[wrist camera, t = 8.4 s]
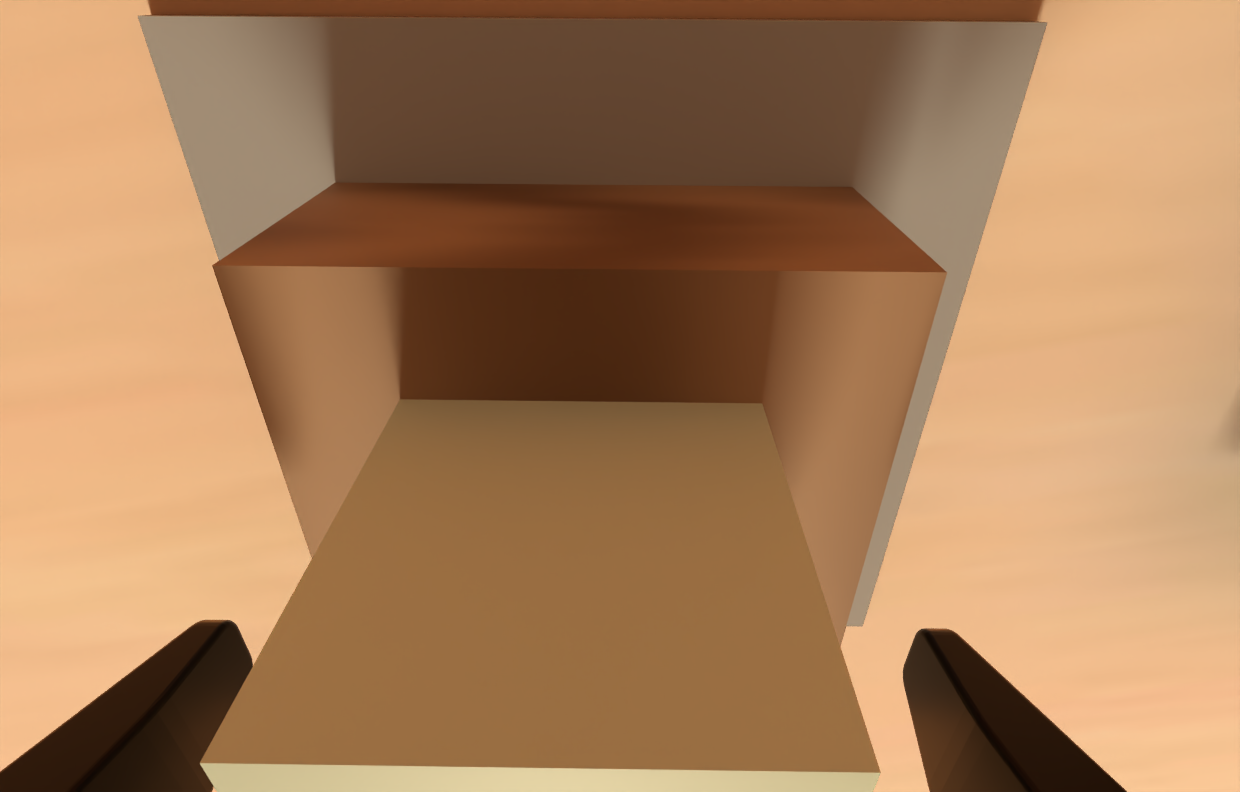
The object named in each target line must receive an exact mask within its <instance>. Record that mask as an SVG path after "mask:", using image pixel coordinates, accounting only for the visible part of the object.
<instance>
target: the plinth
mask: <svg viewBox="0 0 1240 792" xmlns="http://www.w3.org/2000/svg"><path fill="white" fill-rule="evenodd" d="M212 266H213V269H214V272H215V275H216V278H217V281H218V284H219V287H220V290H221V293H222V296H223V299H224V302H225V305H226V307H227V310H228V313H229V316H230V319H231V322H232V325H233V328H234V331H235V334H236V337H237V340H238V343H239V346H240V349H241V352H242V355H243V357H244V360H245V363H246V366H247V369H248V372H249V375H250V378H251V381H252V384H253V387H254V390H255V393H256V396H257V399H258V402H259V404H260V407H261V410H262V413H263V416H264V419H265V422H266V425H267V428H268V431H269V434H270V437H271V440H272V443H273V446H274V449H275V452H276V454H277V457H278V460H279V463H280V466H281V469H282V472H283V475H284V478H285V481H286V484H287V487H288V490H289V493H290V496H291V499H292V502H293V504H294V507H295V510H296V513H297V516H298V519H299V522H300V525H301V528H302V531H303V534H304V537H305V540H306V543H307V546H308V549H309V551H310V554H311V557H312V558H313V556H314V555H315V553H316V551H317V549H318V547H319V545H320V544H321V542H322V540H323V538H324V536H325V535H326V533H327V531H328V529H329V527H330V525H331V524H332V522H333V520H334V518H335V516H336V515H337V513H338V511H339V509H340V507H341V505H342V504H343V502H344V500H345V498H346V496H347V495H348V493H349V491H350V489H351V487H352V486H353V484H354V482H355V480H356V478H357V476H358V475H359V473H360V471H361V469H362V467H363V466H364V464H365V462H366V460H367V458H368V456H369V455H370V453H371V451H372V449H373V447H374V446H375V444H376V442H377V440H378V438H379V436H380V435H381V433H382V431H383V429H384V427H385V426H386V424H387V422H388V420H389V418H390V417H391V415H392V413H393V411H394V409H395V407H396V406H397V404H398V402H399V400H400V399H410V400H500V401H589V402H679V403H762V404H763V407H764V411H765V414H766V417H767V420H768V423H769V426H770V429H771V432H772V435H773V439H774V442H775V445H776V448H777V451H778V454H779V457H780V460H781V464H782V467H783V470H784V473H785V476H786V479H787V482H788V485H789V488H790V492H791V495H792V498H793V501H794V504H795V507H796V510H797V513H798V517H799V520H800V523H801V526H802V529H803V532H804V535H805V538H806V541H807V545H808V548H809V551H810V554H811V557H812V560H813V563H814V566H815V570H816V573H817V576H818V579H819V582H820V585H821V588H822V591H823V594H824V598H825V601H826V604H827V607H828V610H829V613H830V616H831V619H832V623H833V626H834V629H835V632H836V635H837V638H838V641H839V644H840V646H841V642H842V639H843V635H844V632H845V629H846V625H847V622H848V618H849V615H850V611H851V608H852V604H853V601H854V597H855V594H856V590H857V587H858V583H859V580H860V576H861V573H862V569H863V566H864V562H865V559H866V555H867V552H868V548H869V545H870V541H871V538H872V534H873V531H874V527H875V524H876V520H877V517H878V513H879V510H880V506H881V503H882V499H883V496H884V492H885V489H886V485H887V482H888V478H889V475H890V471H891V468H892V464H893V461H894V457H895V454H896V450H897V447H898V443H899V440H900V436H901V433H902V429H903V426H904V422H905V419H906V415H907V412H908V408H909V405H910V401H911V398H912V394H913V391H914V387H915V384H916V380H917V377H918V373H919V370H920V366H921V363H922V359H923V356H924V352H925V349H926V345H927V342H928V338H929V335H930V331H931V328H932V324H933V321H934V317H935V314H936V310H937V307H938V303H939V300H940V296H941V293H942V289H943V286H944V282H945V279H946V275H947V272H946V271H945V270H944V269H943V268H942V267H941V266H940V265H938V264H937V263H936V262H935V261H934V260H933V259H932V258H931V257H930V256H928V255H927V254H926V253H925V252H924V251H923V250H922V249H921V248H920V247H918V246H917V245H916V244H915V243H914V242H913V241H912V240H911V239H910V238H908V237H907V236H906V235H905V234H904V233H903V232H902V231H901V230H900V229H898V228H897V227H896V226H895V225H894V224H893V223H892V222H891V221H890V220H888V219H887V218H886V217H885V216H884V215H883V214H882V213H881V212H880V211H878V210H877V209H876V208H875V207H874V206H873V205H872V204H871V203H870V202H868V201H867V200H866V199H865V198H864V197H863V196H862V195H861V194H860V193H858V192H857V191H856V190H855V189H854V188H853V187H800V186H685V185H570V184H455V183H340V182H335V183H334V184H332V185H331V186H329V187H328V188H326V189H325V190H323V191H322V192H321V193H319V194H318V195H316V196H315V197H313V198H312V199H310V200H309V201H307V202H306V203H304V204H303V205H301V206H300V207H298V208H297V209H295V210H294V211H292V212H291V213H289V214H288V215H286V216H285V217H283V218H282V219H280V220H279V221H277V222H276V223H275V224H273V225H272V226H270V227H269V228H267V229H266V230H264V231H263V232H261V233H260V234H258V235H257V236H255V237H254V238H252V239H251V240H249V241H248V242H246V243H245V244H243V245H242V246H240V247H239V248H237V249H236V250H234V251H233V252H232V253H230V254H229V255H227V256H226V257H224V258H223V259H221V260H220V261H218V262H217V263H215V264H214V265H212Z"/></svg>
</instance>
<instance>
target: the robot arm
mask: <svg viewBox="0 0 1240 792" xmlns="http://www.w3.org/2000/svg"><path fill="white" fill-rule="evenodd" d="M252 667H253V663H252V657H251V655H250V653H249V650H248V648H247V646H246V644H245V642H244V640H243V637H242V635H241V633H240V631H239V629H238V627H237V625H236V624H235V623H234V622H232V621H230V620H202V621H199V622H197V623H195V624H194V625H192V626H191V627H189V628H188V629H187V630H185V631H184V632H183V633H181V634H180V635H179V636H178V637H176V638H175V639H174V640H172V641H171V642H170V643H168V644H167V645H166V646H164V647H163V648H162V649H160V650H159V651H158V652H157V653H155V654H154V655H153V656H151V657H150V658H149V659H147V660H146V661H145V662H143V663H142V664H141V665H139V666H138V667H137V668H136V669H134V670H133V671H132V672H130V673H129V674H128V675H126V676H125V677H124V678H122V679H121V680H120V681H118V682H117V683H116V684H115V685H113V686H112V687H111V688H109V689H108V690H107V691H105V692H104V693H103V694H101V695H100V696H99V697H98V698H96V699H95V700H94V701H92V702H91V703H90V704H88V705H87V706H86V707H84V708H83V709H82V710H80V711H79V712H78V713H77V714H75V715H74V716H73V717H71V718H70V719H69V720H67V721H66V722H65V723H63V724H62V725H61V726H59V727H58V728H57V729H56V730H54V731H53V732H52V733H50V734H49V735H48V736H46V737H45V738H44V739H42V740H41V741H40V742H38V743H37V744H36V745H35V746H33V747H32V748H31V749H29V750H28V751H27V752H25V753H24V754H23V755H21V756H20V757H19V758H17V759H16V760H15V761H14V762H12V763H11V764H10V765H8V766H7V767H6V768H4V769H3V770H2V771H0V792H212V790H213V787H214V786H213V784H212V783H211V781H210V779H209V778H208V776H207V775H206V773H205V771H204V770H203V768H202V766H201V765H200V762H201V760H202V758H203V756H204V754H205V752H206V751H207V749H208V747H209V745H210V743H211V742H212V740H213V738H214V736H215V734H216V732H217V731H218V729H219V727H220V725H221V723H222V722H223V720H224V718H225V716H226V714H227V712H228V711H229V709H230V707H231V705H232V703H233V702H234V700H235V698H236V696H237V694H238V693H239V691H240V689H241V687H242V685H243V683H244V682H245V680H246V678H247V676H248V674H249V673H250V671H251V669H252ZM903 682H904V687H905V691H906V696H907V700H908V704H909V708H910V712H911V716H912V720H913V725H914V729H915V733H916V737H917V741H918V745H919V749H920V754H921V758H922V762H923V766H924V770H925V774H926V778H927V783H928V787H929V790H930V792H1127V791H1126V790H1125V789H1124V788H1123V787H1122V786H1121V785H1119V784H1118V783H1117V782H1116V781H1115V780H1114V779H1113V778H1112V777H1111V776H1110V775H1109V774H1108V773H1107V772H1105V771H1104V770H1103V769H1102V768H1101V767H1100V766H1099V765H1098V764H1097V763H1096V762H1095V761H1094V760H1093V759H1091V758H1090V757H1089V756H1088V755H1087V754H1086V753H1085V752H1084V751H1083V750H1082V749H1081V748H1080V747H1079V746H1078V745H1076V744H1075V743H1074V742H1073V741H1072V740H1071V739H1070V738H1069V737H1068V736H1067V735H1066V734H1065V733H1064V732H1062V731H1061V730H1060V729H1059V728H1058V727H1057V726H1056V725H1055V724H1054V723H1053V722H1052V721H1051V720H1050V719H1048V718H1047V717H1046V716H1045V715H1044V714H1043V713H1042V712H1041V711H1040V710H1039V709H1038V708H1037V707H1036V706H1034V705H1033V704H1032V703H1031V702H1030V701H1029V700H1028V699H1027V698H1026V697H1025V696H1024V695H1023V694H1022V693H1021V692H1019V691H1018V690H1017V689H1016V688H1015V687H1014V686H1013V685H1012V684H1011V683H1010V682H1009V681H1008V680H1007V679H1005V678H1004V677H1003V676H1002V675H1001V674H1000V673H999V672H998V671H997V670H996V669H995V668H994V667H993V666H991V665H990V664H989V663H988V662H987V661H986V660H985V659H984V658H983V657H982V656H981V655H980V654H979V653H978V652H976V651H975V650H974V649H973V648H972V647H971V646H970V645H969V644H968V643H967V642H966V641H965V640H964V639H962V638H961V637H960V636H959V635H958V634H957V633H955V632H954V631H952V630H949V629H921V630H919V631H918V632H917V633H916V635H915V638H914V640H913V643H912V646H911V648H910V651H909V654H908V656H907V659H906V662H905V664H904V668H903Z"/></svg>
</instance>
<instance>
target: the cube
mask: <svg viewBox="0 0 1240 792" xmlns="http://www.w3.org/2000/svg"><path fill="white" fill-rule="evenodd" d="M200 765H201V766H202V768H203V770H204V771H205V773H206V775H207V776H208V778H209V779H210V781H211V783H212V784H213V786H214V788H215V789H216V791H217V792H873V791H874V788H875V786H876V783H877V781H878V778H879V776H880V773H881V772H880V769H879V766H878V763H877V760H876V757H875V753H874V750H873V747H872V744H871V741H870V738H869V735H868V732H867V728H866V725H865V722H864V719H863V716H862V713H861V710H860V707H859V704H858V700H857V697H856V694H855V691H854V688H853V685H852V682H851V679H850V676H849V672H848V669H847V666H846V663H845V660H844V657H843V654H842V651H841V647H840V644H839V641H838V638H837V635H836V632H835V629H834V626H833V623H832V619H831V616H830V613H829V610H828V607H827V604H826V601H825V598H824V594H823V591H822V588H821V585H820V582H819V579H818V576H817V573H816V570H815V566H814V563H813V560H812V557H811V554H810V551H809V548H808V545H807V541H806V538H805V535H804V532H803V529H802V526H801V523H800V520H799V517H798V513H797V510H796V507H795V504H794V501H793V498H792V495H791V492H790V488H789V485H788V482H787V479H786V476H785V473H784V470H783V467H782V464H781V460H780V457H779V454H778V451H777V448H776V445H775V442H774V439H773V435H772V432H771V429H770V426H769V423H768V420H767V417H766V414H765V411H764V407H763V404H762V403H679V402H589V401H500V400H410V399H400V400H399V402H398V404H397V406H396V407H395V409H394V411H393V413H392V415H391V417H390V418H389V420H388V422H387V424H386V426H385V427H384V429H383V431H382V433H381V435H380V436H379V438H378V440H377V442H376V444H375V446H374V447H373V449H372V451H371V453H370V455H369V456H368V458H367V460H366V462H365V464H364V466H363V467H362V469H361V471H360V473H359V475H358V476H357V478H356V480H355V482H354V484H353V486H352V487H351V489H350V491H349V493H348V495H347V496H346V498H345V500H344V502H343V504H342V505H341V507H340V509H339V511H338V513H337V515H336V516H335V518H334V520H333V522H332V524H331V525H330V527H329V529H328V531H327V533H326V535H325V536H324V538H323V540H322V542H321V544H320V545H319V547H318V549H317V551H316V553H315V555H314V556H313V558H312V560H311V562H310V564H309V565H308V567H307V569H306V571H305V573H304V574H303V576H302V578H301V580H300V582H299V584H298V585H297V587H296V589H295V591H294V593H293V594H292V596H291V598H290V600H289V602H288V604H287V605H286V607H285V609H284V611H283V613H282V614H281V616H280V618H279V620H278V622H277V624H276V625H275V627H274V629H273V631H272V633H271V634H270V636H269V638H268V640H267V642H266V643H265V645H264V647H263V649H262V651H261V653H260V654H259V656H258V658H257V660H256V662H255V663H254V665H253V667H252V669H251V671H250V673H249V674H248V676H247V678H246V680H245V682H244V683H243V685H242V687H241V689H240V691H239V693H238V694H237V696H236V698H235V700H234V702H233V703H232V705H231V707H230V709H229V711H228V712H227V714H226V716H225V718H224V720H223V722H222V723H221V725H220V727H219V729H218V731H217V732H216V734H215V736H214V738H213V740H212V742H211V743H210V745H209V747H208V749H207V751H206V752H205V754H204V756H203V758H202V760H201V762H200Z"/></svg>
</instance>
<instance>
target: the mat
mask: <svg viewBox="0 0 1240 792" xmlns="http://www.w3.org/2000/svg"><path fill="white" fill-rule="evenodd" d="M138 19H139V22H140V25H141V28H142V31H143V34H144V37H145V40H146V43H147V46H148V49H149V52H150V55H151V58H152V61H153V64H154V67H155V70H156V73H157V76H158V79H159V82H160V85H161V88H162V91H163V94H164V97H165V100H166V103H167V106H168V109H169V112H170V115H171V118H172V121H173V124H174V127H175V130H176V133H177V136H178V139H179V142H180V145H181V148H182V151H183V154H184V157H185V160H186V163H187V166H188V169H189V172H190V175H191V178H192V181H193V184H194V187H195V190H196V193H197V196H198V199H199V202H200V205H201V208H202V211H203V214H204V217H205V220H206V223H207V226H208V229H209V232H210V235H211V238H212V241H213V244H214V247H215V250H216V253H217V256H218V259H219V261H220V260H221V259H223V258H224V257H226V256H227V255H229V254H230V253H232V252H233V251H234V250H236V249H237V248H239V247H240V246H242V245H243V244H245V243H246V242H248V241H249V240H251V239H252V238H254V237H255V236H257V235H258V234H260V233H261V232H263V231H264V230H266V229H267V228H269V227H270V226H272V225H273V224H275V223H276V222H277V221H279V220H280V219H282V218H283V217H285V216H286V215H288V214H289V213H291V212H292V211H294V210H295V209H297V208H298V207H300V206H301V205H303V204H304V203H306V202H307V201H309V200H310V199H312V198H313V197H315V196H316V195H318V194H319V193H321V192H322V191H323V190H325V189H326V188H328V187H329V186H331V185H332V184H334V183H335V182H340V183H455V184H570V185H685V186H800V187H853V188H854V189H855V190H856V191H857V192H858V193H860V194H861V195H862V196H863V197H864V198H865V199H866V200H867V201H868V202H870V203H871V204H872V205H873V206H874V207H875V208H876V209H877V210H878V211H880V212H881V213H882V214H883V215H884V216H885V217H886V218H887V219H888V220H890V221H891V222H892V223H893V224H894V225H895V226H896V227H897V228H898V229H900V230H901V231H902V232H903V233H904V234H905V235H906V236H907V237H908V238H910V239H911V240H912V241H913V242H914V243H915V244H916V245H917V246H918V247H920V248H921V249H922V250H923V251H924V252H925V253H926V254H927V255H928V256H930V257H931V258H932V259H933V260H934V261H935V262H936V263H937V264H938V265H940V266H941V267H942V268H943V269H944V270H945V271H946V272H947V275H946V279H945V282H944V286H943V289H942V293H941V296H940V300H939V303H938V307H937V310H936V314H935V317H934V321H933V324H932V328H931V331H930V335H929V338H928V342H927V345H926V349H925V352H924V356H923V359H922V363H921V366H920V370H919V373H918V377H917V380H916V384H915V387H914V391H913V394H912V398H911V401H910V405H909V408H908V412H907V415H906V419H905V422H904V426H903V429H902V433H901V436H900V440H899V443H898V447H897V450H896V454H895V457H894V461H893V464H892V468H891V471H890V475H889V478H888V482H887V485H886V489H885V492H884V496H883V499H882V503H881V506H880V510H879V513H878V517H877V520H876V524H875V527H874V531H873V534H872V538H871V541H870V545H869V548H868V552H867V555H866V559H865V562H864V566H863V569H862V573H861V576H860V580H859V583H858V587H857V590H856V594H855V597H854V601H853V604H852V608H851V611H850V615H849V618H848V622H847V625H846V626H863V623H864V620H865V617H866V614H867V610H868V607H869V604H870V601H871V597H872V594H873V591H874V587H875V584H876V581H877V578H878V574H879V571H880V568H881V565H882V561H883V558H884V555H885V552H886V548H887V545H888V542H889V538H890V535H891V532H892V529H893V525H894V522H895V519H896V516H897V512H898V509H899V506H900V503H901V499H902V496H903V493H904V489H905V486H906V483H907V480H908V476H909V473H910V470H911V467H912V463H913V460H914V457H915V454H916V450H917V447H918V444H919V440H920V437H921V434H922V431H923V427H924V424H925V421H926V418H927V414H928V411H929V408H930V404H931V401H932V398H933V395H934V391H935V388H936V385H937V382H938V378H939V375H940V372H941V369H942V365H943V362H944V359H945V355H946V352H947V349H948V346H949V342H950V339H951V336H952V333H953V329H954V326H955V323H956V320H957V316H958V313H959V310H960V306H961V303H962V300H963V297H964V293H965V290H966V287H967V284H968V280H969V277H970V274H971V271H972V267H973V264H974V261H975V257H976V254H977V251H978V248H979V244H980V241H981V238H982V235H983V231H984V228H985V225H986V222H987V218H988V215H989V212H990V208H991V205H992V202H993V199H994V195H995V192H996V189H997V186H998V182H999V179H1000V176H1001V173H1002V169H1003V166H1004V163H1005V159H1006V156H1007V153H1008V150H1009V146H1010V143H1011V140H1012V137H1013V133H1014V130H1015V127H1016V123H1017V120H1018V117H1019V114H1020V110H1021V107H1022V104H1023V101H1024V97H1025V94H1026V91H1027V88H1028V84H1029V81H1030V78H1031V74H1032V71H1033V68H1034V65H1035V61H1036V58H1037V55H1038V52H1039V48H1040V45H1041V42H1042V39H1043V35H1044V32H1045V29H1046V25H1047V22H1025V21H888V20H750V19H612V18H474V17H336V16H198V15H144V16H138Z"/></svg>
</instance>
